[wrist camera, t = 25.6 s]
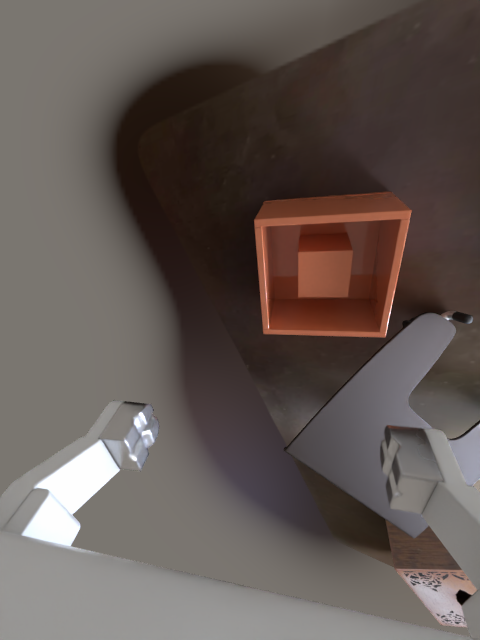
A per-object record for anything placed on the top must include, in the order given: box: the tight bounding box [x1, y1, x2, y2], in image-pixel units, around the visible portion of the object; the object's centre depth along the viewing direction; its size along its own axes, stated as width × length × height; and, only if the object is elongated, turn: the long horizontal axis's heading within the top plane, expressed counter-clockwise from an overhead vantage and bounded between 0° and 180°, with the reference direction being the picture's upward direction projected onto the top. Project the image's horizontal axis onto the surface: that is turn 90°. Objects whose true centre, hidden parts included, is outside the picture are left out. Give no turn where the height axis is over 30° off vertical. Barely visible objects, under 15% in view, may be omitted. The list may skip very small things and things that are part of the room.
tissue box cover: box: [386, 520, 477, 628], centre depth 51 cm, size 26×14×10 cm, turn 34°
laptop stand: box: [284, 311, 480, 538], centre depth 36 cm, size 23×23×9 cm
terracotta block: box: [298, 233, 353, 297], centre depth 28 cm, size 4×4×4 cm
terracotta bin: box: [254, 192, 411, 337], centre depth 27 cm, size 11×11×6 cm
